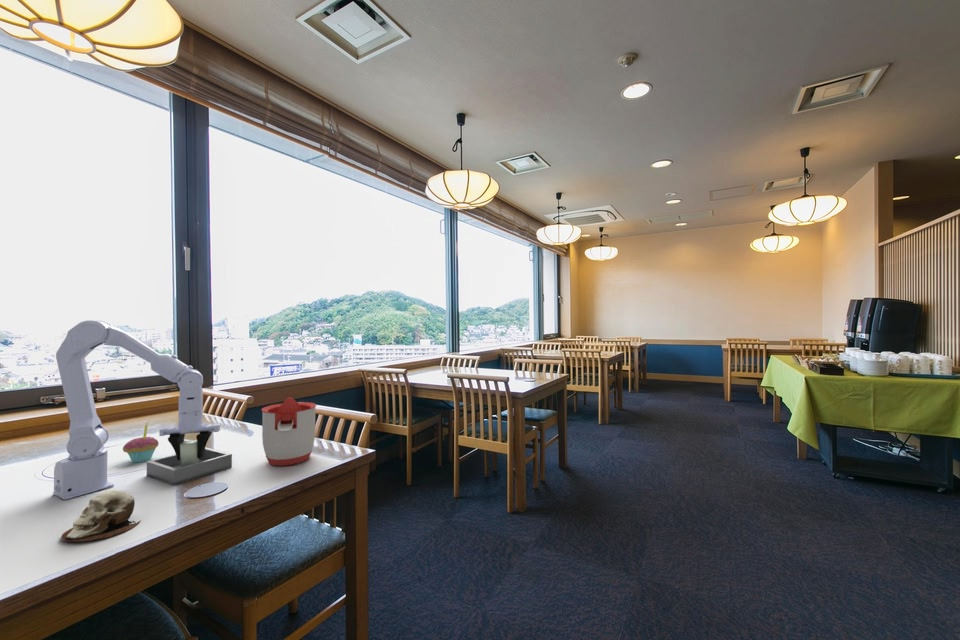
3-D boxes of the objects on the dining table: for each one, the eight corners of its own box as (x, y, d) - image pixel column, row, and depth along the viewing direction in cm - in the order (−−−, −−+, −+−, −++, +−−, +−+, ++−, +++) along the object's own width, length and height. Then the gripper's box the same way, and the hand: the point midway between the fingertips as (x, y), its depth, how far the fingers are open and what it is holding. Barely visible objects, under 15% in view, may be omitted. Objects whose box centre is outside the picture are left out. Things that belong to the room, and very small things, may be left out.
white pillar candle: (185, 468, 111) (184, 446, 110) (177, 465, 113) (176, 443, 112) (202, 463, 114) (201, 441, 114) (194, 460, 117) (193, 439, 116)
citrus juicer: (254, 474, 112) (254, 404, 112) (266, 455, 128) (267, 394, 128) (313, 467, 116) (313, 401, 117) (318, 450, 133) (318, 391, 133)
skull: (81, 547, 73) (62, 500, 76) (63, 573, 77) (45, 527, 79) (155, 516, 84) (136, 476, 87) (137, 540, 88) (119, 501, 90)
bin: (173, 485, 104) (173, 470, 104) (146, 475, 111) (146, 461, 111) (231, 467, 117) (231, 454, 117) (204, 459, 124) (204, 446, 124)
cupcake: (165, 455, 128) (165, 419, 128) (140, 465, 119) (140, 426, 119) (141, 455, 128) (141, 418, 128) (115, 464, 120) (115, 425, 120)
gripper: (154, 416, 108) (153, 465, 108) (214, 412, 112) (214, 459, 112) (166, 411, 115) (165, 457, 115) (222, 407, 119) (222, 452, 119)
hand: (190, 458), depth 114 cm, fingers closed on white pillar candle, 4 cm apart
